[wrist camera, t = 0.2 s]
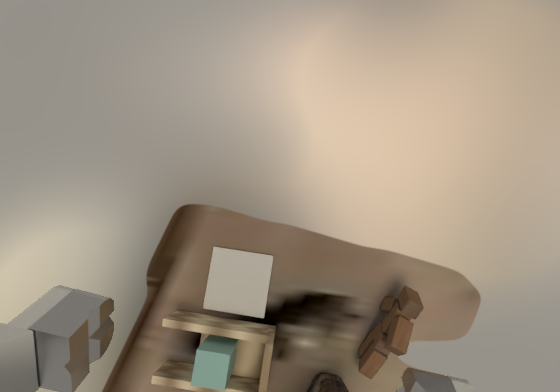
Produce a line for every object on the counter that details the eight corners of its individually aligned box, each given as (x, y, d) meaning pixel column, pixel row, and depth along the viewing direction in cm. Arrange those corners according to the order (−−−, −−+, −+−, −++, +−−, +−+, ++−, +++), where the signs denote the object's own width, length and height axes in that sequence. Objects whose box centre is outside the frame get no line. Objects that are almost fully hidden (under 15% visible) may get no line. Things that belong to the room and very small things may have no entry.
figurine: (357, 335, 64) (401, 272, 60) (369, 342, 64) (414, 280, 59) (358, 388, 52) (414, 314, 47) (372, 397, 51) (430, 323, 47)
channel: (275, 326, 61) (274, 336, 54) (267, 384, 60) (264, 403, 53) (177, 309, 62) (163, 318, 55) (166, 367, 60) (150, 383, 53)
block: (238, 337, 59) (230, 355, 50) (233, 368, 58) (224, 391, 49) (210, 333, 59) (196, 349, 50) (205, 363, 58) (190, 385, 50)
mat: (273, 255, 63) (273, 256, 62) (264, 317, 61) (263, 318, 60) (214, 246, 63) (213, 246, 62) (203, 307, 62) (202, 308, 61)
